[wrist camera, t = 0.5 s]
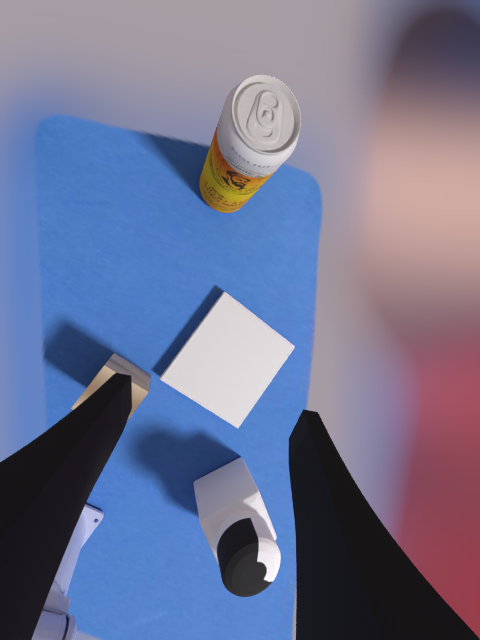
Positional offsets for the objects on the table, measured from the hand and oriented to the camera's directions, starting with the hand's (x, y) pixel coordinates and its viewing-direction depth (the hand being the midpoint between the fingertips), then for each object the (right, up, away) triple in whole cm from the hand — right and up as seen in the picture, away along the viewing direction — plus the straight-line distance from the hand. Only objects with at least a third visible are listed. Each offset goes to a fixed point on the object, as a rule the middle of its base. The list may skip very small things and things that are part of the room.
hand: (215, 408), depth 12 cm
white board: (0, -1, +25) cm, 25 cm away
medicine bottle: (-1, -19, +27) cm, 33 cm away
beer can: (-1, +20, +23) cm, 30 cm away
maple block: (-13, -4, +22) cm, 26 cm away
